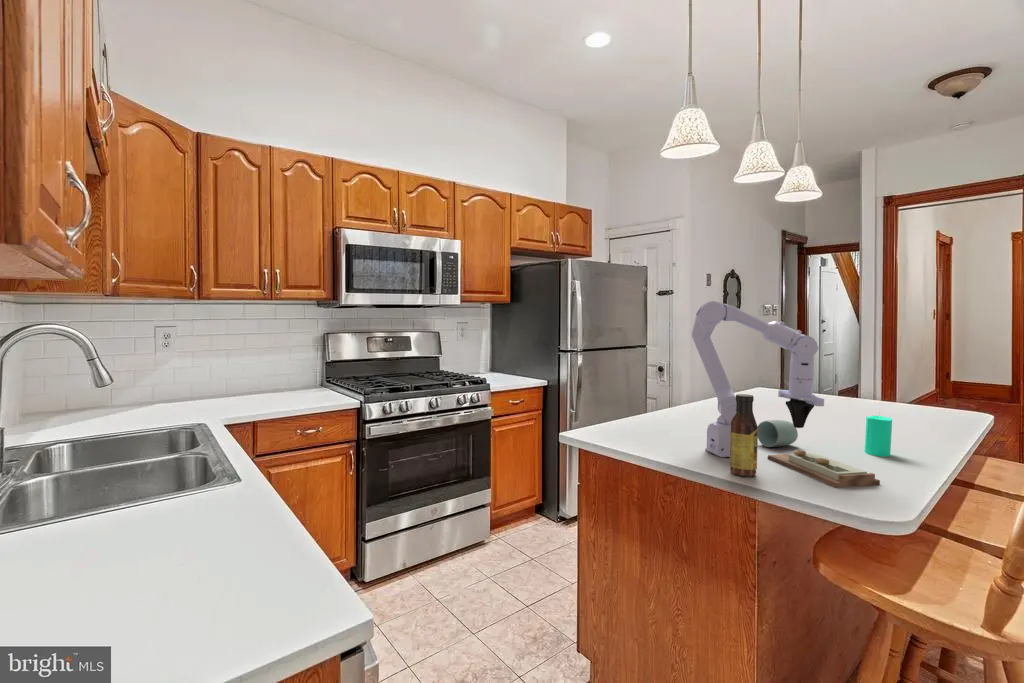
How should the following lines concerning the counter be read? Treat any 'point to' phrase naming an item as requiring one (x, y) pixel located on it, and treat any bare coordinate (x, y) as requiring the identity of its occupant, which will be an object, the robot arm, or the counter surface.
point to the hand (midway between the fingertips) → (798, 427)
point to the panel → (830, 470)
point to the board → (842, 482)
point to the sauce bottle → (743, 438)
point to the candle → (878, 435)
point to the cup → (777, 433)
